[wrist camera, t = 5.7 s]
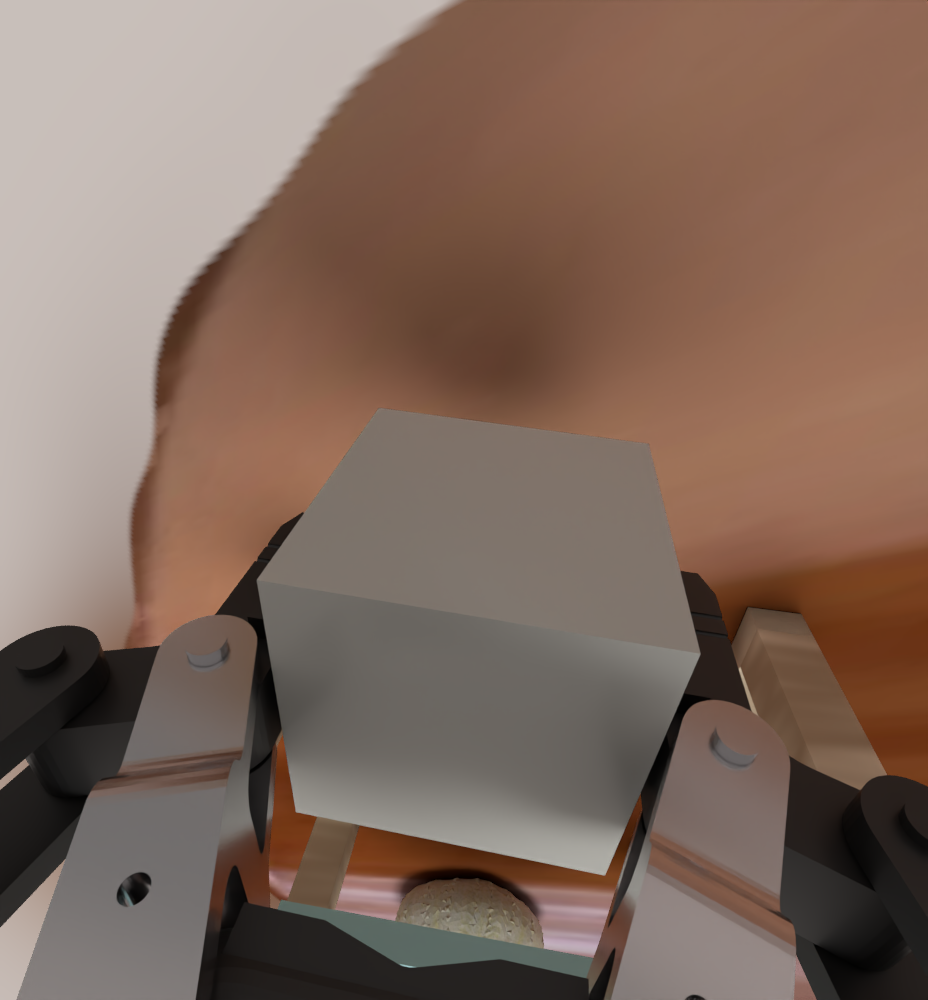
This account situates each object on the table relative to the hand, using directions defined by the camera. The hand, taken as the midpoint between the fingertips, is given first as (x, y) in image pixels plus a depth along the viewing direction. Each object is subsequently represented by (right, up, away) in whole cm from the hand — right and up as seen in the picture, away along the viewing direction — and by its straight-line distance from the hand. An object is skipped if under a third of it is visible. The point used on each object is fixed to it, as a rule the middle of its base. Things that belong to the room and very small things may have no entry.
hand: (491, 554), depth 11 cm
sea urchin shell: (0, -25, +27) cm, 37 cm away
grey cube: (0, 0, +1) cm, 1 cm away
